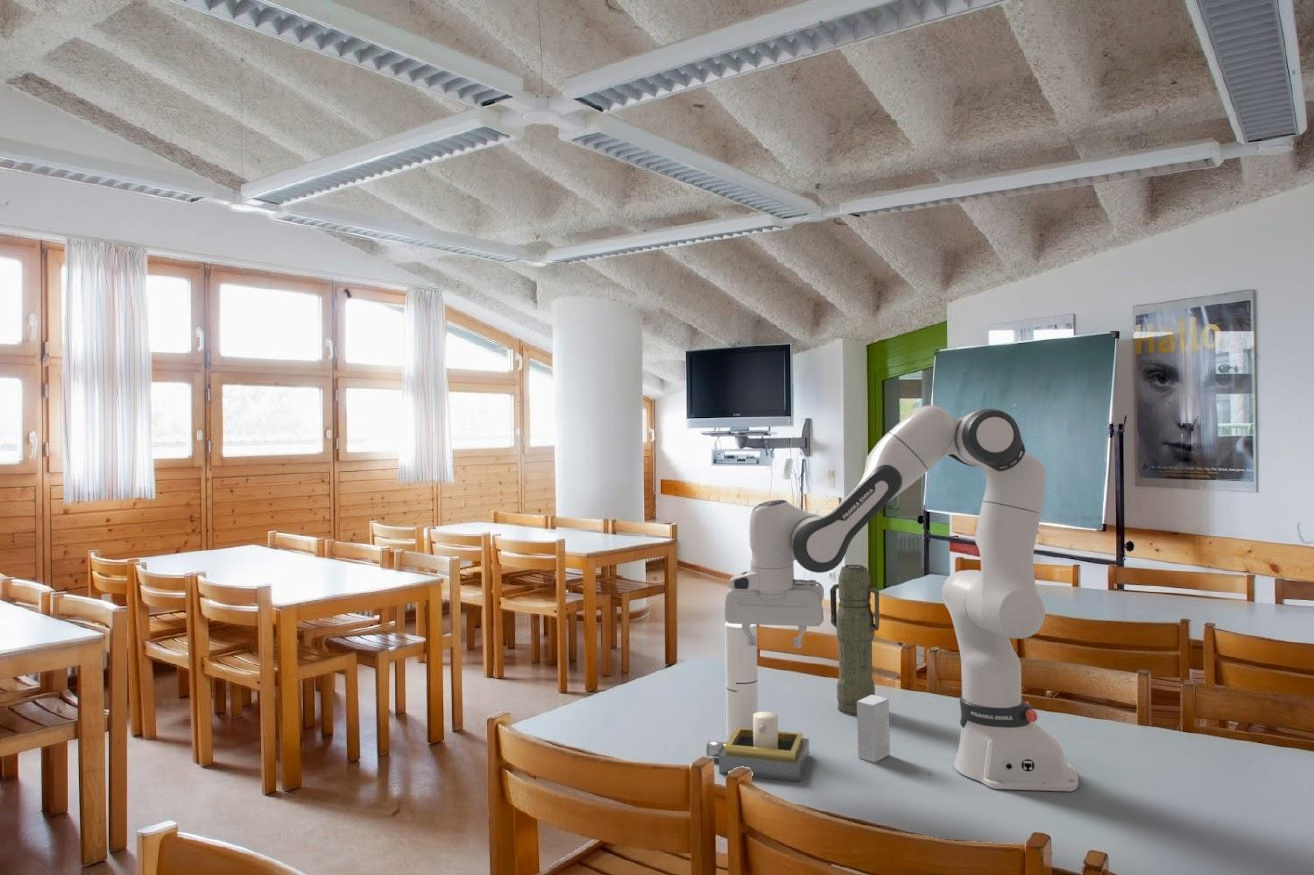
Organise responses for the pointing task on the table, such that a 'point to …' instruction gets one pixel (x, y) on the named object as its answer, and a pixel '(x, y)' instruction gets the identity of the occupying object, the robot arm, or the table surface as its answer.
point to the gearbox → (762, 755)
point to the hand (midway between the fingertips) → (774, 645)
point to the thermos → (854, 635)
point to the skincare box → (873, 728)
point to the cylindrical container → (740, 678)
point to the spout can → (765, 730)
